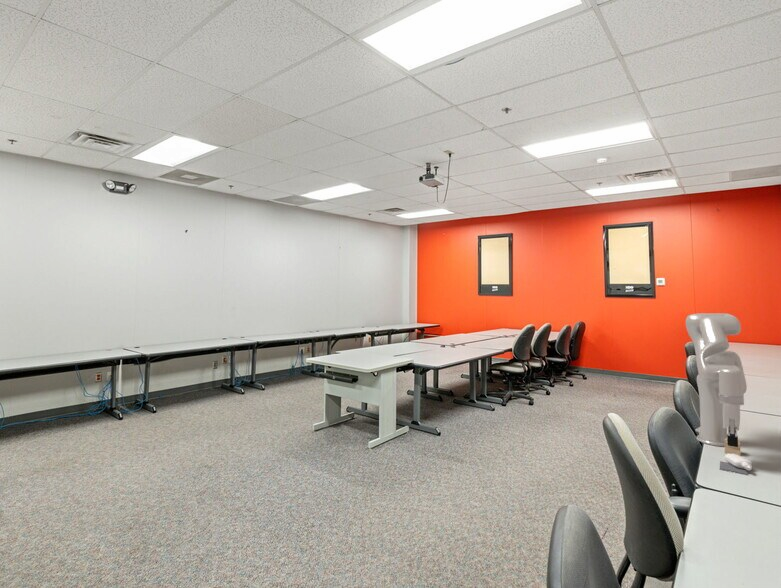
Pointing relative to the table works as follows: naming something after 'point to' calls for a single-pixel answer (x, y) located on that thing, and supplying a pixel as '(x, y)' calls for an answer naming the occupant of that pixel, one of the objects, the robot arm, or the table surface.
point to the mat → (732, 468)
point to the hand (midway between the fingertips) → (732, 445)
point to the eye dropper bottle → (738, 461)
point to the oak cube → (732, 448)
